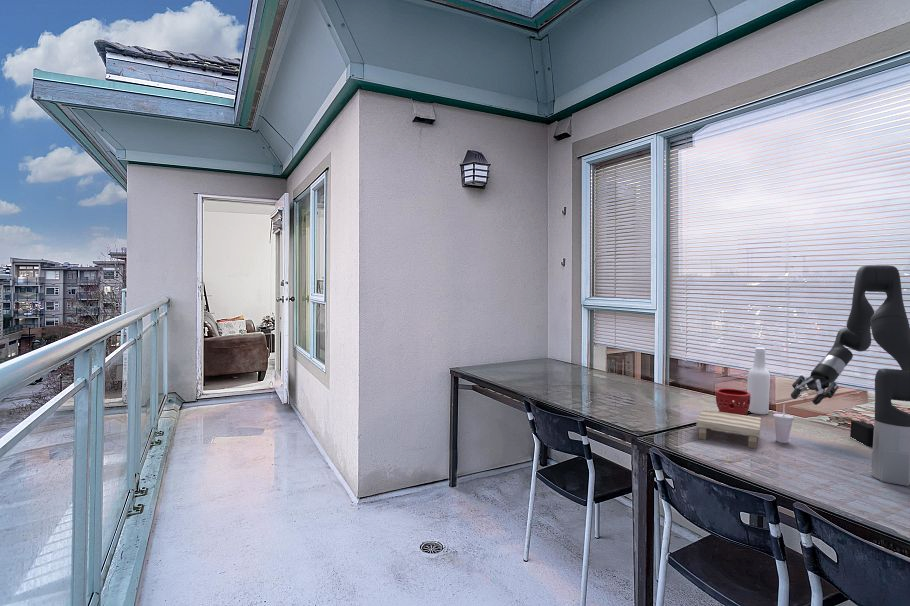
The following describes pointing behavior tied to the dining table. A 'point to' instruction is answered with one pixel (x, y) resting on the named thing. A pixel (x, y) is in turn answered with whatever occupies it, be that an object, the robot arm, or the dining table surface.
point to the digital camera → (862, 432)
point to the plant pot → (726, 403)
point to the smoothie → (783, 426)
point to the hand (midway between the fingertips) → (803, 400)
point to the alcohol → (759, 384)
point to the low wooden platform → (729, 424)
